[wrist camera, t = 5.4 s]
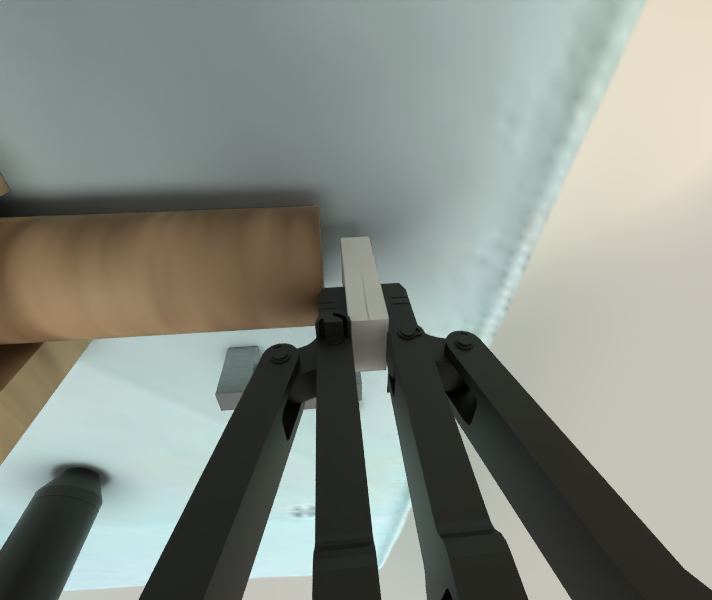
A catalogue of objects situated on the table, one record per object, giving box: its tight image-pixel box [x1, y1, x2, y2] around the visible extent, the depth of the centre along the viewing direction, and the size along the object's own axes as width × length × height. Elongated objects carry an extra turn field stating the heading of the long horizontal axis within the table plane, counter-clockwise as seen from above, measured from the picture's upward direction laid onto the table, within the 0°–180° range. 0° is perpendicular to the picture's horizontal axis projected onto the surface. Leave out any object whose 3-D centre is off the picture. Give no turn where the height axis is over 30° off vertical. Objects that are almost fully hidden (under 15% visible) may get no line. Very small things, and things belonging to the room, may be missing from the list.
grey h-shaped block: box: [215, 347, 362, 411], centre depth 26 cm, size 8×9×4 cm
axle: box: [0, 206, 324, 345], centre depth 17 cm, size 24×6×6 cm, turn 90°
